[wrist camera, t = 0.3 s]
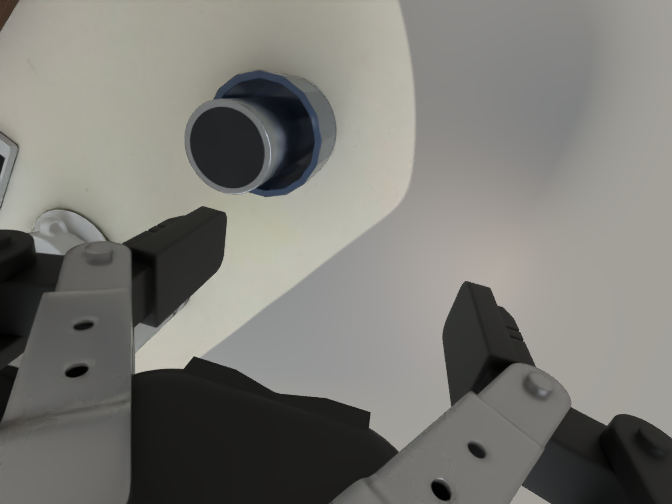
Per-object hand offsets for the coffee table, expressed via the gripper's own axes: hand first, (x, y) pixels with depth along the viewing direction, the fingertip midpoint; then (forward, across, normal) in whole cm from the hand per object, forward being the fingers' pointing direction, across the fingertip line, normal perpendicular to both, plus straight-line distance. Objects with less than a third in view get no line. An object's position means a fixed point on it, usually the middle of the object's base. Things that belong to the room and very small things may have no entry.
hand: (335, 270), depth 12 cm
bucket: (+21, +8, 0) cm, 23 cm away
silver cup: (+21, +8, 0) cm, 22 cm away
